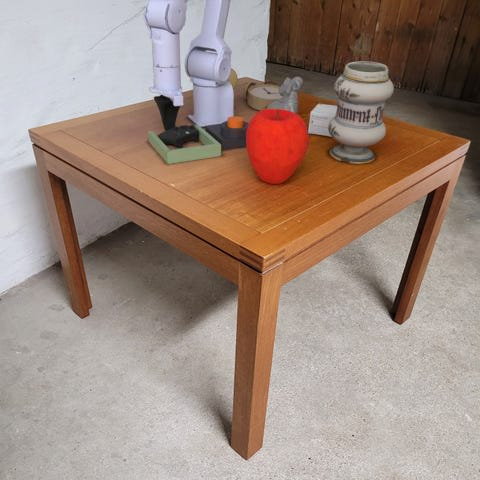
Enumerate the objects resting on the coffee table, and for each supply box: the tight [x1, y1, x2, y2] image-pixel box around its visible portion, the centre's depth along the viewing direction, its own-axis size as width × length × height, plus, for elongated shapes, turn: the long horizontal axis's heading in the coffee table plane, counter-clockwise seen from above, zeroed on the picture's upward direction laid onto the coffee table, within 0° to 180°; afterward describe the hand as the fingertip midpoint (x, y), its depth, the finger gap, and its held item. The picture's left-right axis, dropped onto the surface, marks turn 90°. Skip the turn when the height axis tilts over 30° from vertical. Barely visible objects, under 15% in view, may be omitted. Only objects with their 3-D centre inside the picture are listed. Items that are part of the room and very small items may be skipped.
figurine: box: [267, 76, 304, 116], centre depth 123 cm, size 8×10×11 cm
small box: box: [307, 103, 337, 138], centre depth 121 cm, size 8×8×5 cm
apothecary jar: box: [328, 60, 395, 165], centre depth 106 cm, size 12×12×18 cm
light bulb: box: [227, 67, 239, 92], centre depth 132 cm, size 6×6×10 cm
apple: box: [245, 109, 310, 185], centre depth 96 cm, size 12×12×13 cm
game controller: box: [157, 124, 200, 148], centre depth 114 cm, size 10×5×6 cm
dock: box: [147, 124, 222, 165], centre depth 111 cm, size 12×14×2 cm
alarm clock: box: [242, 80, 283, 111], centre depth 138 cm, size 11×5×15 cm
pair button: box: [227, 115, 245, 128], centre depth 113 cm, size 4×4×2 cm
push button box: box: [204, 121, 250, 151], centre depth 115 cm, size 10×9×4 cm
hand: (169, 130), depth 116 cm, fingers closed, pressing on game controller
